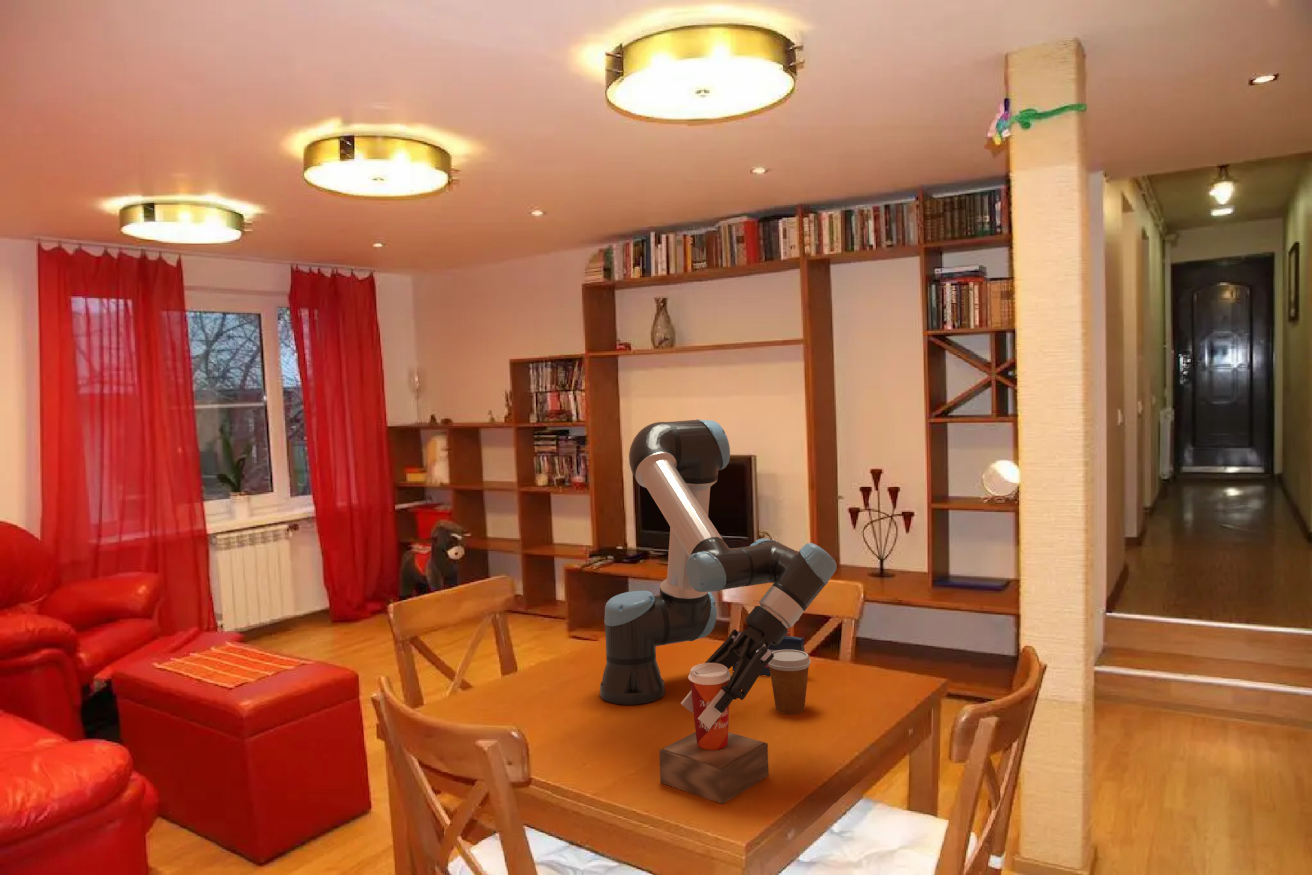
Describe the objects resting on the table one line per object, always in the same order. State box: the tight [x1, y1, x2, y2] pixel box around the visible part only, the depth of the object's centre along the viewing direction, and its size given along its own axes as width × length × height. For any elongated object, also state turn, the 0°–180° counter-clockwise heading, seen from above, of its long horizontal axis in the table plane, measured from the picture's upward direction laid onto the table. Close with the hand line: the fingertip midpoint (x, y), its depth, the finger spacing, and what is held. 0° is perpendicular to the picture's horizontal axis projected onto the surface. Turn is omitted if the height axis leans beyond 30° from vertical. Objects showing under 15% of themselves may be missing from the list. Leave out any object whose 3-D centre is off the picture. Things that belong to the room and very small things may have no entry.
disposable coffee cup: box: [768, 650, 812, 715], centre depth 195 cm, size 10×10×12 cm
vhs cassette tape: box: [731, 631, 805, 677], centre depth 219 cm, size 18×3×10 cm, turn 61°
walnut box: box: [658, 731, 769, 805], centre depth 161 cm, size 14×14×6 cm
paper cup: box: [687, 662, 732, 750], centre depth 161 cm, size 8×8×14 cm
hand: (694, 715), depth 160 cm, fingers closed on paper cup, 8 cm apart
